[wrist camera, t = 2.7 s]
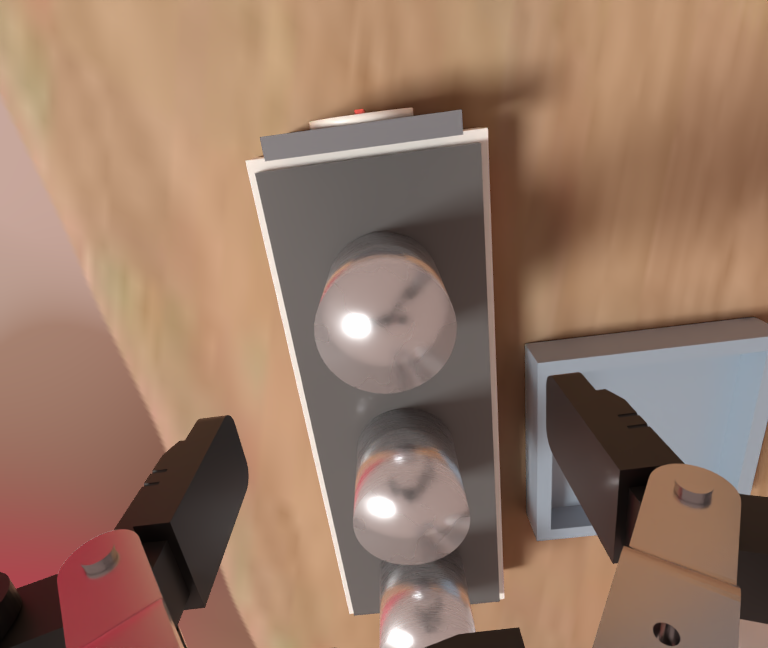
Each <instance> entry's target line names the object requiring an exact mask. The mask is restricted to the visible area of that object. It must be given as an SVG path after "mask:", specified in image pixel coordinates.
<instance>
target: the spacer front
mask: <svg viewBox="0 0 768 648" xmlns="http://www.w3.org/2000/svg"><path fill="white" fill-rule="evenodd" d="M456 333H457V323H456V316H455V312H454V309H453V306H452V304H451V301H450V299H449V296H448V294H447V291H446V289H445V286H444V284H443V281H442V279H441V277H440V274H439V272H438V269H437V267H436V265H435V262H434V260H433V258H432V257H431V255H430V254H429V253H428V251H427V250H426V249H425V248H424V247H423V246H422V245H421V244H420V243H418V242H417V241H415V240H414V239H412V238H410V237H408V236H406V235H403V234H400V233H395V232H388V231H380V232H373V233H368V234H365V235H362V236H360V237H358V238H356V239H354V240H353V241H351V242H350V243H348V244H347V245H346V246H345V247H344V248H343V249H342V250H341V251H340V252H339V254H338V255H337V257H336V258H335V260H334V262H333V264H332V266H331V269H330V272H329V275H328V279H327V282H326V285H325V288H324V291H323V294H322V297H321V300H320V303H319V306H318V310H317V313H316V317H315V323H314V334H315V341H316V345H317V349H318V351H319V353H320V356H321V358H322V359H323V361H324V363H325V364H326V365H327V367H328V368H329V369H330V370H331V371H332V372H333V373H334V374H335V375H336V376H337V377H338V378H340V379H341V380H342V381H344V382H345V383H347V384H349V385H351V386H353V387H355V388H357V389H360V390H363V391H367V392H372V393H382V394H388V393H398V392H403V391H407V390H410V389H413V388H415V387H417V386H420V385H421V384H423V383H425V382H427V381H428V380H429V379H431V378H432V377H433V376H434V375H435V374H437V373H438V372H439V371H440V370H441V368H442V367H443V366H444V365H445V363H446V362H447V360H448V358H449V357H450V355H451V352H452V350H453V347H454V344H455V340H456Z"/></svg>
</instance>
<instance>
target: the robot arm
mask: <svg viewBox="0 0 768 648" xmlns="http://www.w3.org/2000/svg"><path fill="white" fill-rule="evenodd" d="M546 432H547V439H548V443H549V446H550V449H551V452H552V454H553V456H554V458H555V459H556V461H557V463H558V465H559V467H560V468H561V470H562V472H563V474H564V476H565V478H566V479H567V481H568V483H569V485H570V487H571V488H572V490H573V492H574V494H575V496H576V497H577V499H578V501H579V503H580V505H581V507H582V508H583V510H584V512H585V514H586V516H587V517H588V519H589V521H590V523H591V525H592V526H593V528H594V530H595V532H596V534H597V536H598V537H599V539H600V541H601V543H602V545H603V546H604V548H605V550H606V552H607V554H608V556H609V557H610V559H611V561H612V563H613V564H614V563H618V565H617V568H616V572H615V575H614V578H613V581H612V585H611V588H610V591H609V595H608V598H607V601H606V605H605V608H604V611H603V614H602V618H601V621H600V624H599V628H598V631H597V634H596V638H595V641H594V644H593V647H592V648H738V646H739V626H740V619H743V620H748V621H753V622H758V623H764V624H768V497H761V496H752V495H745V494H740V493H738V491H737V490H736V488H735V487H734V486H733V485H732V484H731V483H730V482H728V481H727V480H726V479H724V478H723V477H721V476H720V475H718V474H716V473H714V472H712V471H710V470H707V469H704V468H701V467H698V466H693V465H688V464H685V463H684V462H683V461H682V460H681V459H680V458H679V457H678V456H677V455H676V454H675V453H674V452H673V451H672V450H671V448H670V447H669V446H668V445H667V444H666V443H665V442H664V441H663V440H662V439H661V438H660V437H659V436H658V434H657V433H656V432H655V431H654V430H653V429H652V428H651V427H650V426H649V427H648V425H647V423H646V422H645V421H644V419H643V418H642V417H641V416H640V415H637V412H636V411H635V410H634V409H633V408H632V407H631V406H630V404H629V403H628V402H627V401H626V400H625V399H623V398H621V397H620V396H618V395H616V394H614V393H612V392H610V391H608V390H606V389H601V390H595V388H594V387H593V386H592V385H591V384H590V383H589V381H588V380H587V379H586V378H585V377H584V376H583V374H582V373H580V372H575V373H567V374H559V375H551V376H548V377H547V381H546ZM247 486H248V466H247V462H246V459H245V456H244V452H243V449H242V446H241V442H240V439H239V436H238V433H237V429H236V426H235V423H234V420H233V419H232V417H231V416H229V415H227V416H219V417H211V418H203V419H199V420H198V421H197V422H196V423H195V425H194V427H193V428H192V430H191V432H190V433H189V435H188V437H187V438H186V440H184V441H179V442H178V443H176V444H175V445H174V446H173V447H172V448H171V449H169V450H168V451H167V452H166V453H165V454H164V455H163V456H162V457H161V458H160V460H159V462H158V463H157V465H156V466H155V468H154V469H153V473H152V474H150V475H149V477H148V478H147V480H146V481H145V483H144V487H142V488H141V489H140V491H139V492H138V494H137V495H136V497H135V498H134V500H133V501H132V503H131V504H130V506H129V508H128V509H127V511H126V512H125V514H124V515H123V517H122V518H121V520H120V521H119V523H118V524H117V526H116V527H115V529H114V530H113V531H109V532H106V533H103V534H101V535H99V536H97V537H94V538H93V539H91V540H89V541H88V542H86V543H85V544H83V545H82V546H80V547H79V548H78V549H77V550H75V551H74V552H73V553H72V554H71V555H70V556H69V557H68V559H67V560H66V561H65V562H64V564H63V565H62V566H61V568H60V570H59V573H58V574H56V575H53V576H51V577H48V578H45V579H43V580H39V581H37V582H34V583H31V584H28V585H26V586H23V587H20V588H17V589H16V588H15V587H14V585H13V584H12V582H11V580H10V579H9V577H8V576H7V575H6V574H4V573H1V572H0V648H187V645H186V642H185V640H184V637H183V635H182V632H181V630H180V628H179V626H178V623H179V620H180V618H181V615H182V613H183V610H188V609H197V608H205V606H206V603H207V600H208V597H209V594H210V592H211V588H212V586H213V583H214V580H215V577H216V575H217V572H218V569H219V566H220V564H221V561H222V558H223V555H224V552H225V549H226V547H227V544H228V541H229V538H230V535H231V533H232V530H233V527H234V524H235V521H236V518H237V516H238V513H239V510H240V507H241V504H242V502H243V499H244V496H245V493H246V490H247ZM424 648H525V646H524V643H523V639H522V636H521V633H520V629H519V628H510V629H501V630H492V631H483V632H473V633H464V634H458V635H455V636H452V637H450V638H447V639H445V640H442V641H440V642H437V643H435V644H432V645H430V646H427V647H424Z"/></svg>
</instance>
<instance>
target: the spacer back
mask: <svg viewBox="0 0 768 648" xmlns="http://www.w3.org/2000/svg"><path fill="white" fill-rule="evenodd" d="M473 632H476V631H475V626H474V620H473V615H472V610H471V605H470V599H469V594H468V589H467V583H466V578H465V573H464V568H463V562H462V559H461V557H460V555H459V554H458V552H457V551H456V550H454V551H452V552H451V553H450V554H448V555H446V556H445V557H442V558H440V559H438V560H435V561H433V562H429V563H425V564H418V565H401V564H394V563H390V562H387V561H384V560H382V561H381V564H380V648H424V647H427V646H430V645H432V644H435V643H437V642H440V641H442V640H445V639H447V638H450V637H452V636H455V635H458V634H464V633H473Z"/></svg>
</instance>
